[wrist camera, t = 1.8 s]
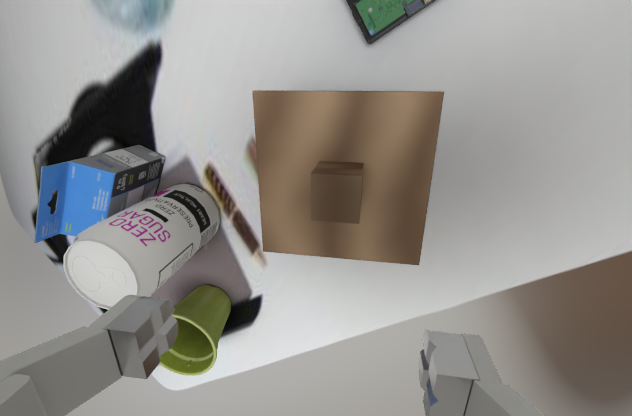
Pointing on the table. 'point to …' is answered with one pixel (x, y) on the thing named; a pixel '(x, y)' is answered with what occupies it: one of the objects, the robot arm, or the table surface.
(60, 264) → the table surface
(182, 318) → the plant pot
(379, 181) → the lid
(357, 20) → the disk drive
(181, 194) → the supplement can
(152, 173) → the label tape cartridge
